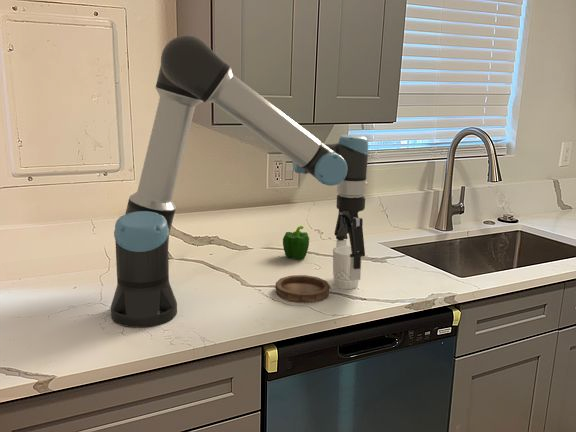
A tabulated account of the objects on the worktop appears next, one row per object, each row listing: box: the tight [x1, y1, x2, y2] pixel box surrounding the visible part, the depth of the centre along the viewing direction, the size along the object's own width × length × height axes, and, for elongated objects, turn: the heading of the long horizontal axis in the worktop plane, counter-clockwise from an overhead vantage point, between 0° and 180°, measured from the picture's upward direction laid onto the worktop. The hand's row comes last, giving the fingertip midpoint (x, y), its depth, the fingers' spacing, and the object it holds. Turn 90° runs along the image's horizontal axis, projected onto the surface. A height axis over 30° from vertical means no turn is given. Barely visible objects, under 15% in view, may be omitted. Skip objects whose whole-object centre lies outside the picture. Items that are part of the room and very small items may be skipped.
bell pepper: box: [282, 225, 310, 261], centre depth 175 cm, size 8×8×10 cm
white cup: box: [332, 245, 363, 290], centre depth 154 cm, size 8×8×10 cm
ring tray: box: [275, 274, 331, 304], centre depth 149 cm, size 14×14×2 cm
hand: (347, 270), depth 154 cm, fingers open, 13 cm apart
